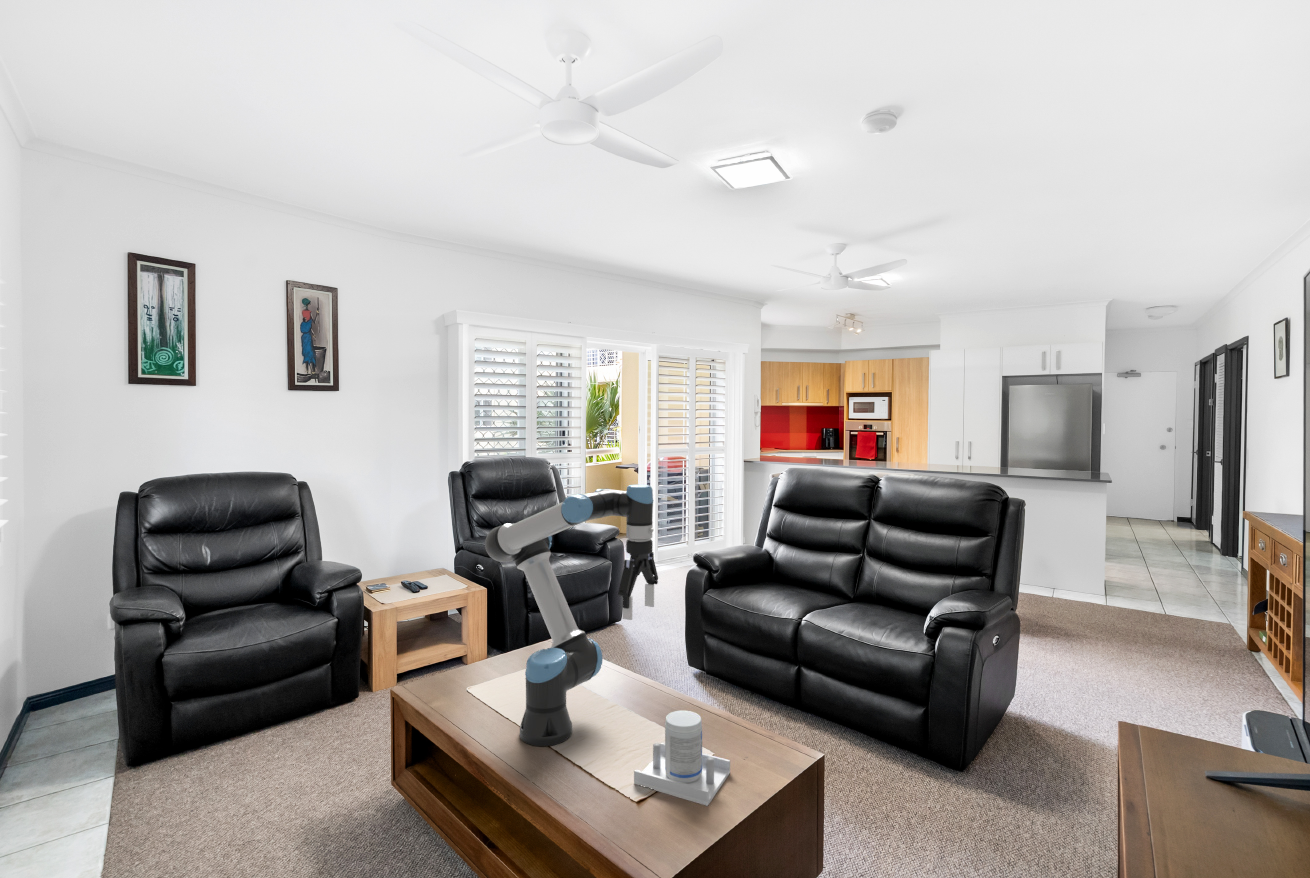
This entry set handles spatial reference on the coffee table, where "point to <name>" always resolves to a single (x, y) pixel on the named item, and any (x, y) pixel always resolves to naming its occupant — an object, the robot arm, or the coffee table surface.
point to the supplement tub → (683, 746)
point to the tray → (695, 791)
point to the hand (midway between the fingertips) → (638, 612)
